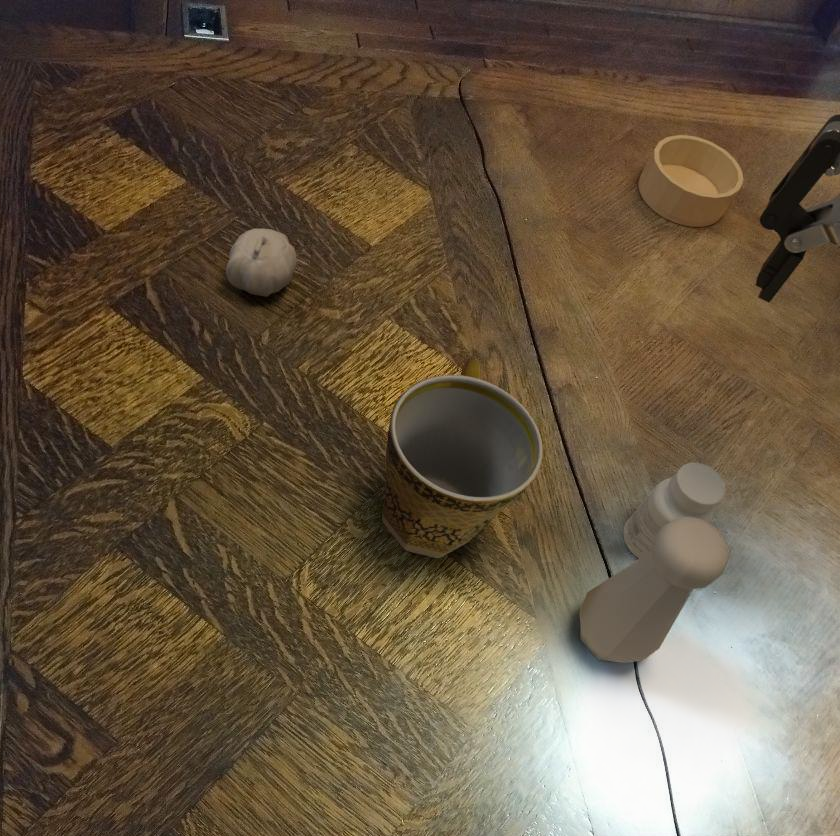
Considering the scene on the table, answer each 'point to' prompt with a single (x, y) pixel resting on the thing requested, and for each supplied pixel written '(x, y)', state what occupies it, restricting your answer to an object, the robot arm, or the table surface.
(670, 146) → the tan round bowl
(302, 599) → the table surface
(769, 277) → the robot arm
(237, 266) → the garlic
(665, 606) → the salt shaker
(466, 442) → the ceramic cup
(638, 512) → the pill bottle
